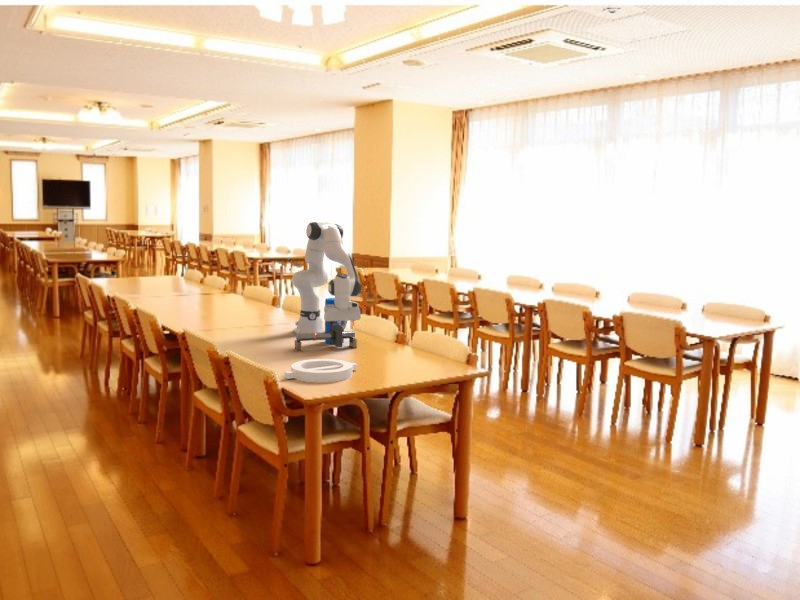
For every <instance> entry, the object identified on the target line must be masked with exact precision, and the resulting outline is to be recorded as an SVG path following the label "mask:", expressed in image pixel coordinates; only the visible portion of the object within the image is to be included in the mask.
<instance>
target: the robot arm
mask: <svg viewBox="0 0 800 600" xmlns="http://www.w3.org/2000/svg"><path fill="white" fill-rule="evenodd" d="M305 233H306V236H307V238H308V240H307V245H306V249H305V256H304V261H305V262H306V263H307V265H308V269H305V270H303V269H302V270H298V271H296V272H295V273H293V275H292V277H291V281H292V285H293V287H295V288H296V289H297V290H298V293H299V296H300V311H299V315H300V316H299V318H298V320H297V321H295V322H294V323H295V326H296V327H294V328H293V329H294V334H295V335H296V334H302V333H322V332H325V329H323V320H324V322H325V321H337V322H338V324H339V325H340V326H342V327H343V329H344V330H345V329H346V325H347V324H348V321H360V319H361V318H362V317H361V309H360V308H359V307H360V304H359V303H358V302H356V301H353V300H352V297H357V296H359V295H360V294H361V292H362V283H361V281H360V279H359V277H358V276H359V275H358V274H357V269H356V268H355V264H354V261H353V258H352V256H351V254H350V253H349V252H347V251H346V249H345V247H344V244H343V236H344V229H343V227H342V226H341V225H339V224H336V223H335V224H334V223H330V222H316V221H314V222H313V221H311V222H310V223H308V225H307V227H306V232H305ZM324 257H326V258H327V259H329V260H330V261H333V262H336V263H338V264H341V265H342V266H343V267H344V268H345V269H346V272H347V274H346V273H338V274H336V275H335V277H334V278H333V279H330V281H329V282H328V279H329V277H328V273H327V272H326V271H325V268H324ZM327 283H328V288H327V289H328V293H329V294H330V295H331V296H334V298H335V299H334V304H327V305H326V306H325V305H324V307H323V311H324V315H323V318H321V317H320V316H321V310H320V298H319V297H320V296H318V295H317V294H316V292H315V290H314V288H319V287H323V286H324V285H326V284H327ZM341 321H344V324H343V325H341V324H340V323H341Z"/></svg>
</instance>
